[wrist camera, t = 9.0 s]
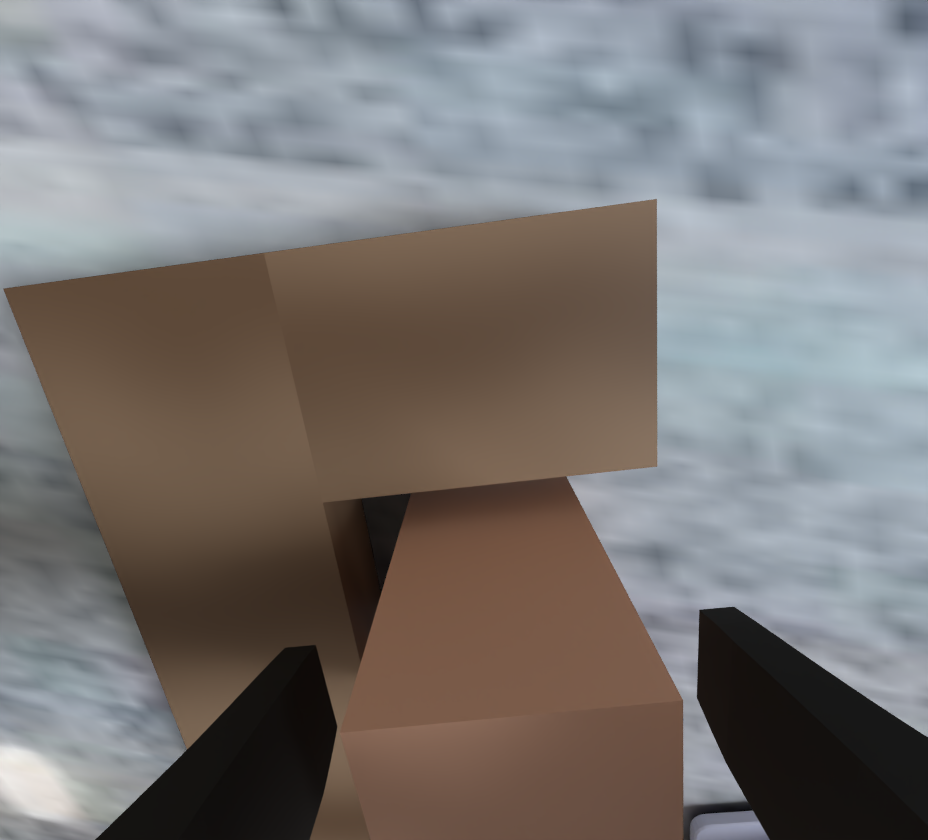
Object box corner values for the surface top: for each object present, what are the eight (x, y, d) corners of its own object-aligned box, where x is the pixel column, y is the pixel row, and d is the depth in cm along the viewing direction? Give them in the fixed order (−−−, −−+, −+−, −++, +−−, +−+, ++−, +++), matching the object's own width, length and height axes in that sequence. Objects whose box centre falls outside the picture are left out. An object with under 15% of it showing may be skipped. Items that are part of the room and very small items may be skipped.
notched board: (626, 746, 14) (657, 837, 12) (271, 774, 15) (233, 866, 13) (611, 221, 10) (656, 199, 8) (109, 289, 11) (2, 288, 8)
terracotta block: (571, 592, 13) (683, 924, 6) (436, 606, 13) (400, 943, 6) (560, 465, 12) (683, 700, 5) (413, 484, 12) (339, 733, 5)
